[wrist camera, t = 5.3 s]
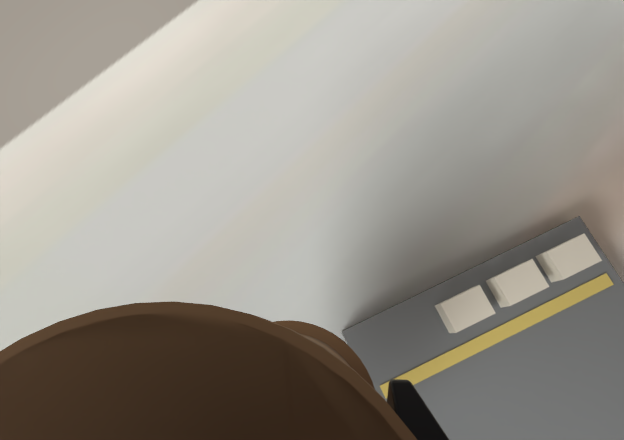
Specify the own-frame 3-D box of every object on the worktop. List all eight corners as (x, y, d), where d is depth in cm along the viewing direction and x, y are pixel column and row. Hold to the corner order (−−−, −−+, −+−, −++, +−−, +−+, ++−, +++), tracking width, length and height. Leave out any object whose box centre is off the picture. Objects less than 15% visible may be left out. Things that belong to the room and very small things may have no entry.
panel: (749, 500, 20) (774, 509, 19) (489, 644, 19) (498, 663, 18) (569, 220, 23) (580, 215, 22) (341, 331, 22) (341, 331, 21)
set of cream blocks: (587, 264, 21) (602, 260, 20) (449, 333, 21) (455, 332, 20) (571, 238, 22) (584, 233, 21) (434, 305, 21) (440, 303, 20)
